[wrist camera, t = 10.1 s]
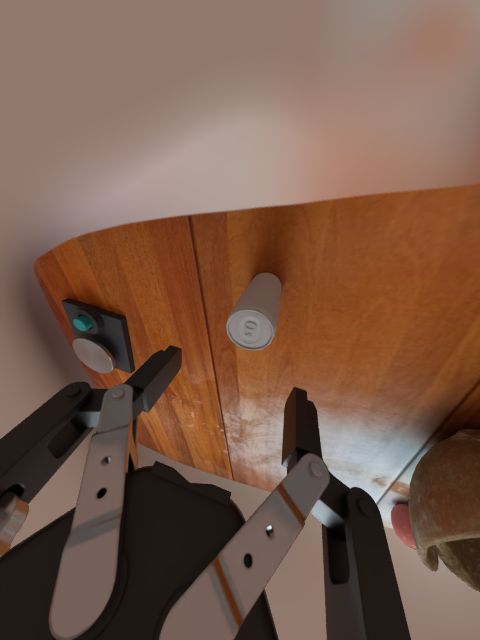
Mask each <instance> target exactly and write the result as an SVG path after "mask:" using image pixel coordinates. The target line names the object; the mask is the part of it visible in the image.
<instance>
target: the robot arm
mask: <svg viewBox="0 0 480 640" xmlns="http://www.w3.org/2000/svg"><path fill="white" fill-rule="evenodd" d="M181 363H182V349H181V348H178V347H175V346H172V345H170V346H169V347H168V348H167V349H166V350H165V351H163V350H160V351H158V352H156V353H154V354H153V355H152V356H151V357H150V358H149V359H148V361H146V362H145V363H144V364H143V365H142V366H141V367H140V368H139V369H138V370H137V371H136V372H135V373H134V374H133V375H132V376H131V377H130V378H129V379H128V380H127V381H126V382H125V383H123V384H118V385H115V386H113V387H111V388H110V389H91V387H90V385H89V384H88V383H86V382H75V383H72V384H70V385H68V386H66V387H64V388H63V389H62V390H60V391H59V392H58V393H57V394H55V395H54V396H53V397H52V398H51V399H49V400H48V401H47V402H46V403H44V404H43V405H42V406H41V407H39V408H38V409H37V410H36V411H35V412H33V413H32V414H31V415H30V416H28V417H27V418H26V419H25V420H23V421H22V422H21V423H20V424H19V425H17V426H16V427H15V428H14V429H12V430H11V431H10V432H9V433H7V434H6V435H5V436H4V437H3V438H1V439H0V640H279V639H278V635H277V632H276V628H275V624H274V621H273V617H272V613H271V610H270V607H269V603H268V599H267V595H266V592H265V587H266V585H267V583H268V582H269V580H270V579H271V577H272V576H273V574H274V573H275V571H276V569H277V568H278V566H279V565H280V563H281V561H282V560H283V558H284V557H285V555H286V554H287V552H288V551H289V549H290V548H291V546H292V544H293V543H294V541H295V540H296V538H297V537H298V535H299V534H300V532H301V530H302V528H303V527H304V525H305V520H306V518H307V516H308V515H309V513H311V514H312V515H314V516H315V517H316V518H317V519H318V520H319V521H320V522H321V523H322V539H323V559H324V560H323V562H324V584H325V606H326V630H327V640H411V638H410V634H409V629H408V625H407V621H406V617H405V613H404V609H403V605H402V601H401V596H400V592H399V588H398V584H397V580H396V576H395V572H394V568H393V564H392V560H391V555H390V551H389V547H388V543H387V539H386V535H385V530H384V526H383V522H382V518H381V514H380V511H379V509H378V507H377V505H376V503H375V502H374V500H373V499H372V497H371V496H370V495H369V494H368V493H367V492H365V491H364V490H362V489H361V488H358V487H353V488H351V489H350V488H349V487H347V486H346V485H345V484H343V483H342V482H341V481H339V480H338V479H337V478H335V477H334V476H333V475H332V474H331V473H330V471H329V470H328V468H327V466H326V464H325V463H324V461H323V458H322V452H321V443H320V434H319V428H318V426H319V425H318V416H317V410H316V408H315V406H314V404H313V402H311V401H308V400H307V392H306V391H305V390H302V389H299V388H296V387H294V388H293V390H292V392H291V393H290V395H289V397H288V399H287V401H286V404H285V409H284V428H283V446H282V466H284V467H287V476H286V477H285V478H284V479H283V480H282V481H281V482H280V484H279V485H278V486H277V487H276V488H275V489H274V490H273V492H272V493H271V494H270V495H269V496H268V497H267V498H266V500H265V501H264V502H263V503H262V504H261V505H260V507H259V508H258V509H257V510H256V511H255V512H254V513H253V515H252V516H251V517H250V518H249V519H248V520H247V521H245V518H244V516H243V514H242V512H241V511H240V509H239V508H238V506H237V505H236V504H235V503H234V501H233V500H232V499H230V496H231V492H229V491H227V490H224V489H222V488H220V487H217V486H215V485H212V484H198V483H189V482H188V481H187V480H186V479H185V478H184V477H183V476H181V475H180V474H179V473H178V472H177V471H176V470H175V469H174V468H172V467H170V466H167V465H164V464H162V463H160V462H158V461H156V462H155V463H154V465H153V466H146V467H141V468H138V453H137V444H138V416H139V415H140V413H141V412H142V411H144V412H147V413H149V411H150V410H151V408H152V407H153V406H154V404H155V403H156V402H157V400H158V399H159V398H160V396H161V395H162V393H163V392H164V391H165V389H166V388H167V387H168V385H169V384H170V383H171V381H172V380H173V378H174V377H175V376H176V374H177V373H178V372H179V370H180V367H181ZM94 427H97V431H96V433H95V434H94V435H92V437H91V440H90V444H89V449H88V453H87V458H86V463H85V467H84V472H83V477H82V481H81V486H80V491H79V495H78V500H77V505H76V507H74V508H73V509H71V510H70V511H68V512H67V513H65V514H64V515H62V516H60V517H59V518H57V519H56V520H54V521H53V522H51V523H50V524H48V525H47V526H45V527H44V528H42V529H40V530H39V531H37V532H36V533H34V534H33V535H31V536H30V537H28V538H27V539H25V540H23V541H22V542H21V543H19V544H17V545H16V546H14V547H13V548H12V549H10V546H11V543H12V541H13V538H14V537H15V535H16V533H17V532H18V531H19V530H20V529H21V527H22V524H23V523H24V521H25V520H26V517H27V515H28V511H29V505H28V504H29V503H30V501H31V500H32V499H33V498H34V497H35V495H36V494H37V493H38V492H39V491H40V490H41V489H42V487H43V486H44V485H45V484H46V483H47V482H48V481H49V479H50V478H51V477H52V476H53V475H54V474H55V472H56V471H57V470H58V469H59V468H60V467H61V465H62V464H63V463H64V462H65V461H66V460H67V459H68V457H69V456H70V455H71V454H72V453H73V451H74V450H75V449H76V448H77V447H78V446H79V445H80V443H81V442H82V441H83V440H84V439H85V438H86V436H87V435H88V434H89V433H90V432H91V431H92V429H93V428H94Z"/></svg>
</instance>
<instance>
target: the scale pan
mask: <svg viewBox="0 0 480 640" xmlns="http://www.w3.org/2000/svg"><path fill="white" fill-rule="evenodd" d="M73 349H74V351H75V353H76V355H77V356H78V358H79V359H80V360H81V361H82V362H83V363H84V364H85V365H87V366H88V367H90V368H91V369H93V370H95V371H97V372H100V373H109V372H111V371H112V370H113V369H114V368H115V360H114V358H113V356H112V354H111V353H110V352H109V351H108V349H107V348H106V347H105V346H103V345H102V344H101V343H99V342H98V341H96V340H94V339H92V338H89V337H84V336H83V337H79V338H77V339H75V340H74V342H73Z"/></svg>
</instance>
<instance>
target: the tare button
mask: <svg viewBox="0 0 480 640" xmlns="http://www.w3.org/2000/svg"><path fill="white" fill-rule="evenodd" d="M73 323H74V325H75V326H76V328H78V329H79V330H81V331H86V330H87V329H89V328H91V327H92V326H93V325H92V322H91V321H90V320H89V319H88V318H87V317H86V316H84V315H82V316H80V317H78V318H76V319H74V320H73Z"/></svg>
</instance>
